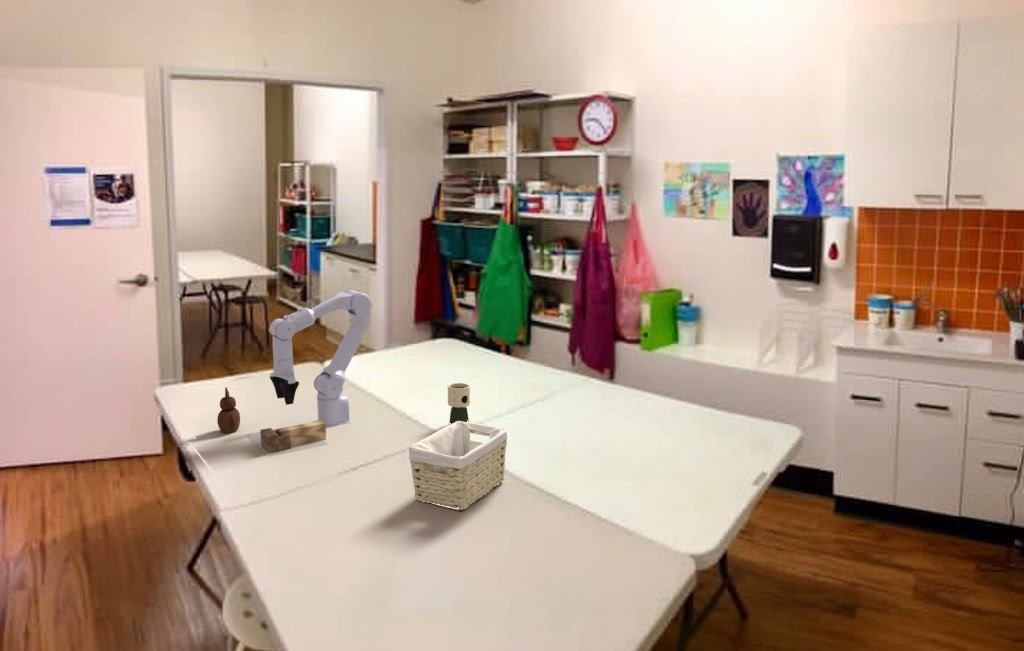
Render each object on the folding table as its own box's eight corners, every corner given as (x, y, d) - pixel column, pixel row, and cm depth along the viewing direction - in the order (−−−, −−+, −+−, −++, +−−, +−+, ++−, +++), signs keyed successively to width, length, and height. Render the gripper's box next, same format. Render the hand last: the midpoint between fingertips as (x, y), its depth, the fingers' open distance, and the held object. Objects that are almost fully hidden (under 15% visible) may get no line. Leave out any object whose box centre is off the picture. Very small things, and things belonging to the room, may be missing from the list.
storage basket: (461, 516, 189) (461, 457, 186) (406, 502, 196) (405, 445, 193) (509, 481, 209) (510, 428, 206) (457, 470, 217) (457, 418, 214)
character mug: (461, 431, 248) (461, 391, 245) (441, 428, 250) (440, 388, 248) (476, 421, 258) (476, 382, 255) (456, 418, 260) (456, 380, 258)
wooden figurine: (232, 436, 242) (229, 389, 239) (215, 435, 243) (211, 388, 240) (244, 429, 248) (241, 383, 245) (227, 428, 249) (224, 382, 246)
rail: (322, 436, 241) (321, 420, 240) (326, 439, 239) (325, 423, 238) (277, 445, 233) (276, 429, 232) (280, 448, 231) (279, 431, 230)
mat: (302, 425, 252) (302, 424, 252) (328, 445, 235) (328, 444, 235) (245, 435, 242) (245, 434, 242) (268, 457, 225) (268, 456, 225)
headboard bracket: (283, 441, 236) (282, 425, 235) (291, 448, 231) (290, 432, 230) (261, 445, 233) (260, 429, 232) (268, 453, 227) (267, 436, 226)
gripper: (262, 355, 246) (264, 397, 248) (277, 364, 234) (280, 409, 237) (285, 352, 249) (287, 393, 252) (301, 361, 238) (303, 405, 240)
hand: (285, 400), depth 245 cm, fingers open, 7 cm apart
